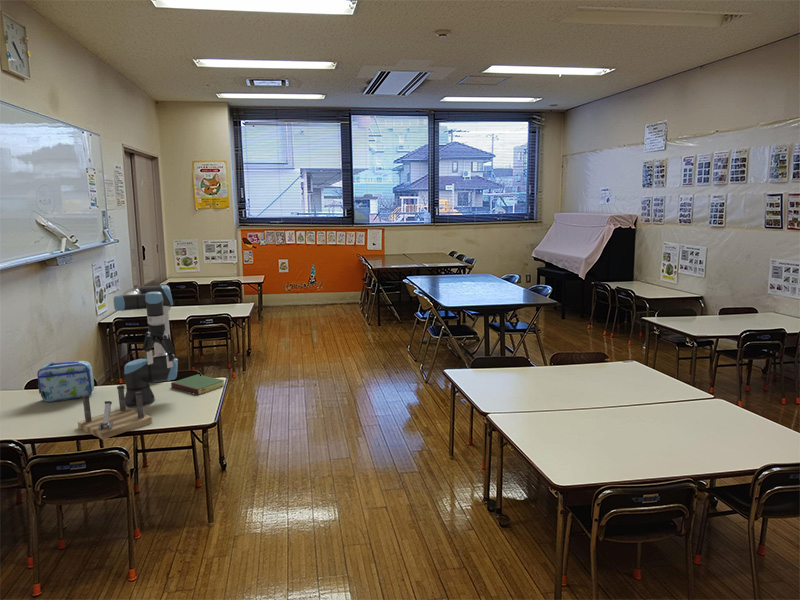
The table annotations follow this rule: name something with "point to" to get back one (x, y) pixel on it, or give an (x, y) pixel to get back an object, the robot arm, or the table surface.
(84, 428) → the stool top
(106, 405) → the hinged leg
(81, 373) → the lunch box
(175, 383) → the hardcover book
